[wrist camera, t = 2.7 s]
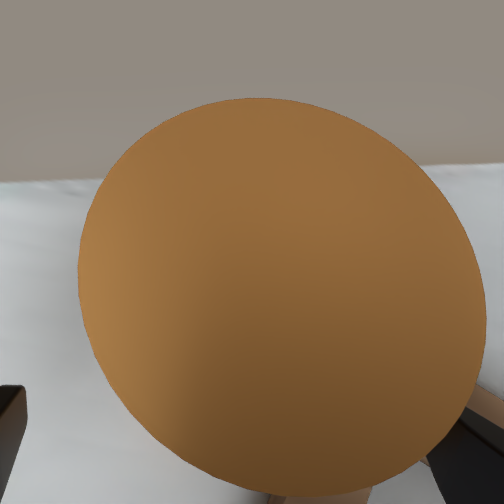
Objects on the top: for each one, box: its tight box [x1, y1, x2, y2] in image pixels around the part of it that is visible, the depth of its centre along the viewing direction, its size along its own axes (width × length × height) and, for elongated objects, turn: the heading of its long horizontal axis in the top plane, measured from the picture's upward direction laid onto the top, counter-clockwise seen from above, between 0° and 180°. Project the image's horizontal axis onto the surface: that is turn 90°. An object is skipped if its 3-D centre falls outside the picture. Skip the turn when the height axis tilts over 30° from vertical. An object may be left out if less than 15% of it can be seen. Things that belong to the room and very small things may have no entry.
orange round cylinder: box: [78, 98, 487, 497], centre depth 12 cm, size 6×6×14 cm
